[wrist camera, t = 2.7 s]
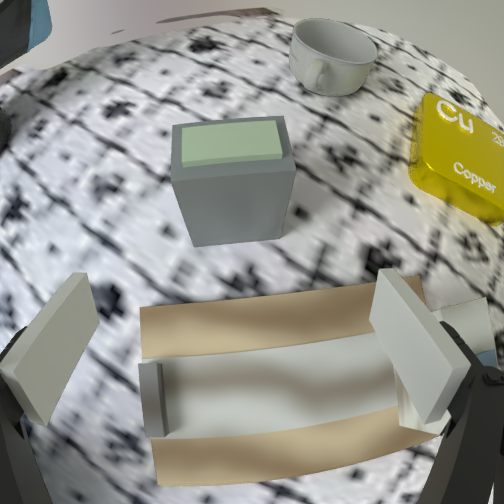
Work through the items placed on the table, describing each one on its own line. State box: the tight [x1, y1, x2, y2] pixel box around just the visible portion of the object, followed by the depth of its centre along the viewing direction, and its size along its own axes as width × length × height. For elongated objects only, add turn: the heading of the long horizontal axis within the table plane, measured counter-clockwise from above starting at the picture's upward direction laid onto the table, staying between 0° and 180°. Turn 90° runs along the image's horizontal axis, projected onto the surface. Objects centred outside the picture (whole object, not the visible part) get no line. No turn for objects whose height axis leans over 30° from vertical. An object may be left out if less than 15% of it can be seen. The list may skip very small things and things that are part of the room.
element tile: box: [408, 93, 504, 227], centre depth 33 cm, size 15×15×5 cm
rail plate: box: [138, 275, 498, 486], centre depth 21 cm, size 16×26×11 cm, turn 97°
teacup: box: [289, 18, 378, 96], centre depth 35 cm, size 14×11×8 cm
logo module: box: [171, 116, 296, 247], centre depth 26 cm, size 5×8×12 cm, turn 96°
